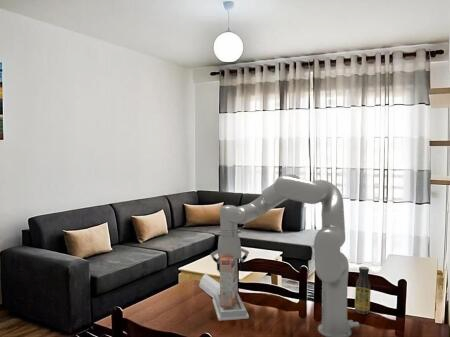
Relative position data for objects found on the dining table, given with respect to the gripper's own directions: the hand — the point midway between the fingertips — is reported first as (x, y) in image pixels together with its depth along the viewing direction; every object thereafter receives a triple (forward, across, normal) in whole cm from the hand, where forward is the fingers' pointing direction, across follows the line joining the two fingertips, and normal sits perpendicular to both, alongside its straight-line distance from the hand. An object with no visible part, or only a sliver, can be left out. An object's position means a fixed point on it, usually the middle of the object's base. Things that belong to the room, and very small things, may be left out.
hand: (230, 271), depth 179 cm
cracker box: (+14, +1, 0) cm, 14 cm away
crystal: (+18, +6, -24) cm, 30 cm away
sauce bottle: (+19, -56, +12) cm, 61 cm away
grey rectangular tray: (+18, +1, -1) cm, 18 cm away
